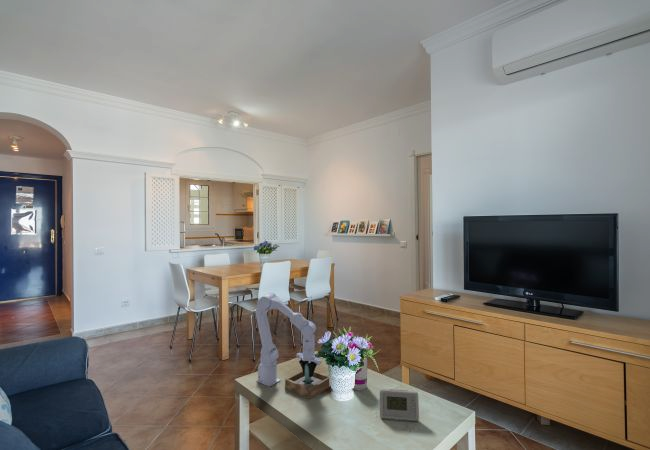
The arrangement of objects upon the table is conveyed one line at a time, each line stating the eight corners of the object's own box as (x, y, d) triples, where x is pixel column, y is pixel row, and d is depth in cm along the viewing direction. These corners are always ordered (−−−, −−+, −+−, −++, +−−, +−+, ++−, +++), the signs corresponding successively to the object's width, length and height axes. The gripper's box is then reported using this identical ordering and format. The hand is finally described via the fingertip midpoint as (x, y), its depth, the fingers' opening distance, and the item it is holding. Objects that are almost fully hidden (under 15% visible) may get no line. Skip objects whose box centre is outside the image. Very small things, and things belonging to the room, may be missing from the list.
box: (285, 388, 164) (285, 379, 164) (306, 376, 177) (306, 368, 177) (309, 399, 154) (310, 389, 154) (330, 386, 167) (331, 377, 167)
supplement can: (361, 392, 161) (361, 361, 160) (346, 387, 166) (347, 357, 165) (369, 386, 167) (370, 356, 167) (355, 381, 172) (356, 352, 172)
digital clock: (377, 419, 139) (378, 393, 139) (381, 407, 148) (381, 383, 148) (418, 427, 134) (418, 400, 134) (419, 414, 143) (419, 389, 143)
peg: (303, 383, 165) (303, 364, 165) (307, 380, 167) (307, 362, 167) (308, 385, 163) (308, 366, 163) (312, 382, 166) (312, 364, 165)
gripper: (292, 346, 166) (291, 373, 167) (314, 353, 158) (314, 382, 158) (301, 342, 172) (301, 369, 172) (324, 349, 163) (323, 377, 163)
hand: (308, 375), depth 165 cm, fingers closed on peg, 3 cm apart
